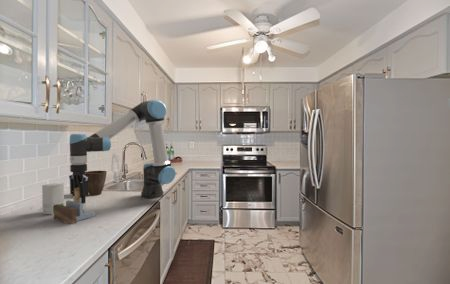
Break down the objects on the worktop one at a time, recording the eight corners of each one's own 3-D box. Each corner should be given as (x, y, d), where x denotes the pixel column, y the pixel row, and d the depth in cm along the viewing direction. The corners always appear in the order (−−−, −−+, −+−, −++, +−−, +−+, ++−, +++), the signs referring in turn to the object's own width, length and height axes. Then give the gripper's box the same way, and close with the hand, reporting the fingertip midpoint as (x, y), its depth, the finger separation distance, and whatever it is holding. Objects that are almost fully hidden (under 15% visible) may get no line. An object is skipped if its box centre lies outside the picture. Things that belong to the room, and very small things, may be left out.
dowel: (81, 206, 136) (80, 186, 135) (86, 208, 134) (85, 187, 133) (73, 209, 132) (72, 188, 132) (78, 210, 130) (77, 189, 129)
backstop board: (57, 217, 131) (57, 204, 131) (76, 223, 123) (76, 208, 123) (53, 218, 129) (53, 205, 129) (72, 224, 122) (72, 209, 121)
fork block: (80, 212, 139) (80, 197, 139) (94, 215, 134) (94, 200, 133) (60, 217, 130) (59, 202, 130) (74, 221, 124) (73, 205, 124)
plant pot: (90, 191, 190) (90, 170, 189) (110, 192, 190) (110, 170, 189) (78, 196, 175) (78, 173, 174) (100, 196, 175) (100, 173, 174)
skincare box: (51, 214, 136) (51, 185, 135) (41, 214, 137) (40, 185, 137) (64, 210, 144) (64, 182, 143) (54, 209, 145) (54, 182, 145)
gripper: (61, 163, 133) (62, 208, 134) (81, 165, 125) (82, 213, 125) (75, 162, 140) (76, 204, 140) (96, 164, 131) (96, 209, 132)
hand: (79, 208), depth 133 cm, fingers closed on dowel, 4 cm apart
